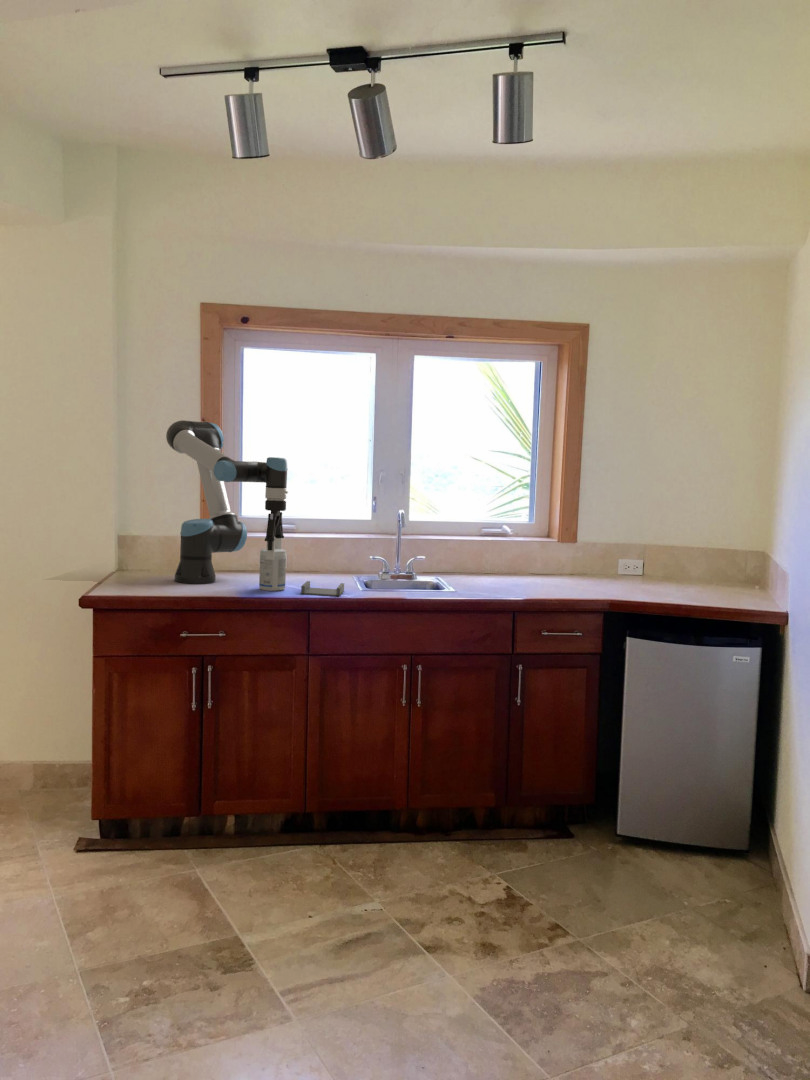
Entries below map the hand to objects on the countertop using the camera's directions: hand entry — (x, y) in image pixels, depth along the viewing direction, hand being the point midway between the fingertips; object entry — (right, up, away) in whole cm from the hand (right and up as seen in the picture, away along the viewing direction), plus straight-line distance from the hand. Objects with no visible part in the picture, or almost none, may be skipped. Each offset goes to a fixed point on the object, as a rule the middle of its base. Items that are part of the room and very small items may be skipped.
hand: (273, 557), depth 331 cm
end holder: (+18, -13, 0) cm, 22 cm away
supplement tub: (-1, -12, +1) cm, 12 cm away
